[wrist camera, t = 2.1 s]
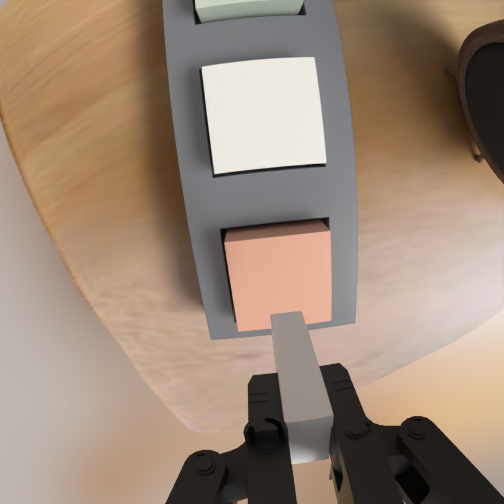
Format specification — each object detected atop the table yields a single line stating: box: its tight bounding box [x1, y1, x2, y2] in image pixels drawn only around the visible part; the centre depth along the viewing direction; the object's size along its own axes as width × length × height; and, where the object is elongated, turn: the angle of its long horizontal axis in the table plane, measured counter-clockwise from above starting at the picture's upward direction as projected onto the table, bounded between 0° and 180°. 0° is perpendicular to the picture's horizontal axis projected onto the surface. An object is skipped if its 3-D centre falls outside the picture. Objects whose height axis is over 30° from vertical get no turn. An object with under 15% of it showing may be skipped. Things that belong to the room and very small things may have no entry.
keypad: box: [162, 0, 358, 340], centre depth 19 cm, size 11×31×4 cm, turn 6°
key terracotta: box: [224, 219, 332, 332], centre depth 21 cm, size 6×6×3 cm
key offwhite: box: [202, 57, 326, 174], centre depth 17 cm, size 6×6×3 cm
